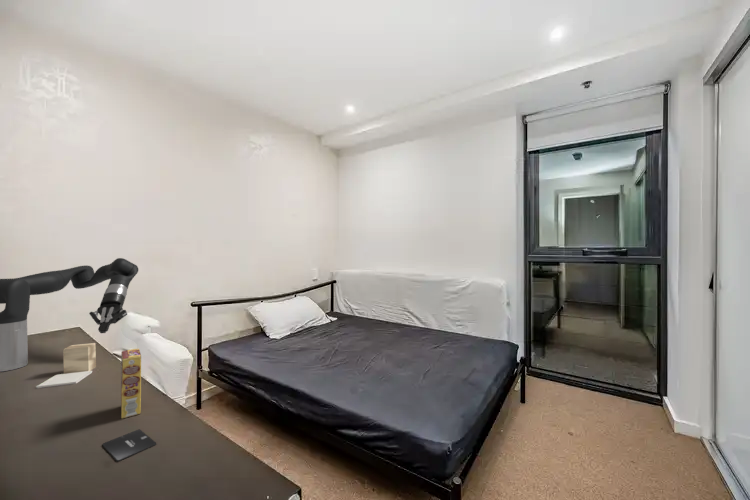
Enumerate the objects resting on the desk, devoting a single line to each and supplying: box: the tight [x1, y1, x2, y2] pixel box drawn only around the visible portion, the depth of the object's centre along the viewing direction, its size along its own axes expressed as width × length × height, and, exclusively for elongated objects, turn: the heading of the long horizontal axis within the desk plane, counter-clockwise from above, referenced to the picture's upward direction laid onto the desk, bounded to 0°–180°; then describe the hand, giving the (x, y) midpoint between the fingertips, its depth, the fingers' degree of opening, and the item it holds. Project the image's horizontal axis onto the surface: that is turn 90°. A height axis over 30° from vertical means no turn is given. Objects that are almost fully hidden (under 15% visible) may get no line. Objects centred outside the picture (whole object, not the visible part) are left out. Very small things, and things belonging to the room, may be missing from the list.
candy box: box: [120, 348, 142, 419], centre depth 85 cm, size 9×4×15 cm, turn 39°
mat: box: [35, 370, 93, 389], centre depth 105 cm, size 10×10×1 cm
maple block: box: [62, 342, 97, 374], centre depth 113 cm, size 5×7×9 cm
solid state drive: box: [102, 429, 157, 463], centre depth 69 cm, size 7×10×1 cm
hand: (102, 332), depth 126 cm, fingers closed
